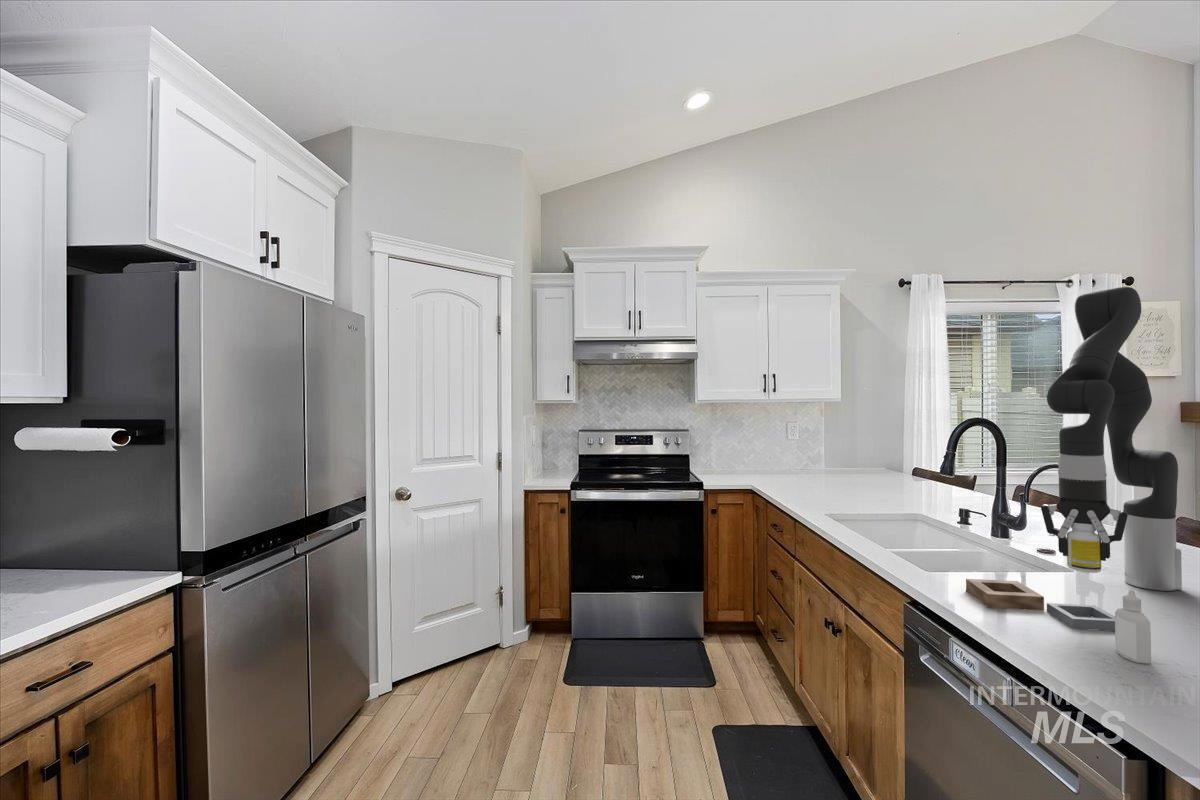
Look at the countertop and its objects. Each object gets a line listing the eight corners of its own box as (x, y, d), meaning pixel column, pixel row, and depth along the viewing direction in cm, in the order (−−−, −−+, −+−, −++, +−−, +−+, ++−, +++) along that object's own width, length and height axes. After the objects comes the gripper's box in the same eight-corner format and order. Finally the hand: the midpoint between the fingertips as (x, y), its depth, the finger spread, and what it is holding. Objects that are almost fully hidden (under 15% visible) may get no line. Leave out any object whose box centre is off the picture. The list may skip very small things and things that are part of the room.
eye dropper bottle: (1118, 660, 100) (1116, 592, 100) (1114, 648, 104) (1113, 583, 104) (1152, 666, 97) (1151, 597, 97) (1147, 655, 102) (1146, 588, 102)
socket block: (1017, 593, 134) (1017, 581, 134) (1044, 610, 123) (1043, 596, 123) (966, 591, 136) (966, 578, 136) (988, 607, 125) (987, 594, 125)
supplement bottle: (1108, 574, 114) (1107, 525, 114) (1077, 573, 115) (1076, 525, 115) (1090, 566, 119) (1089, 519, 119) (1061, 565, 120) (1060, 519, 120)
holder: (1094, 614, 120) (1094, 605, 120) (1124, 631, 112) (1124, 621, 112) (1046, 612, 122) (1046, 603, 122) (1072, 628, 113) (1072, 618, 113)
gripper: (1128, 476, 115) (1130, 559, 115) (1039, 471, 125) (1041, 548, 125) (1130, 481, 109) (1132, 568, 109) (1036, 475, 119) (1038, 556, 119)
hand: (1083, 557), depth 117 cm, fingers closed on supplement bottle, 5 cm apart
